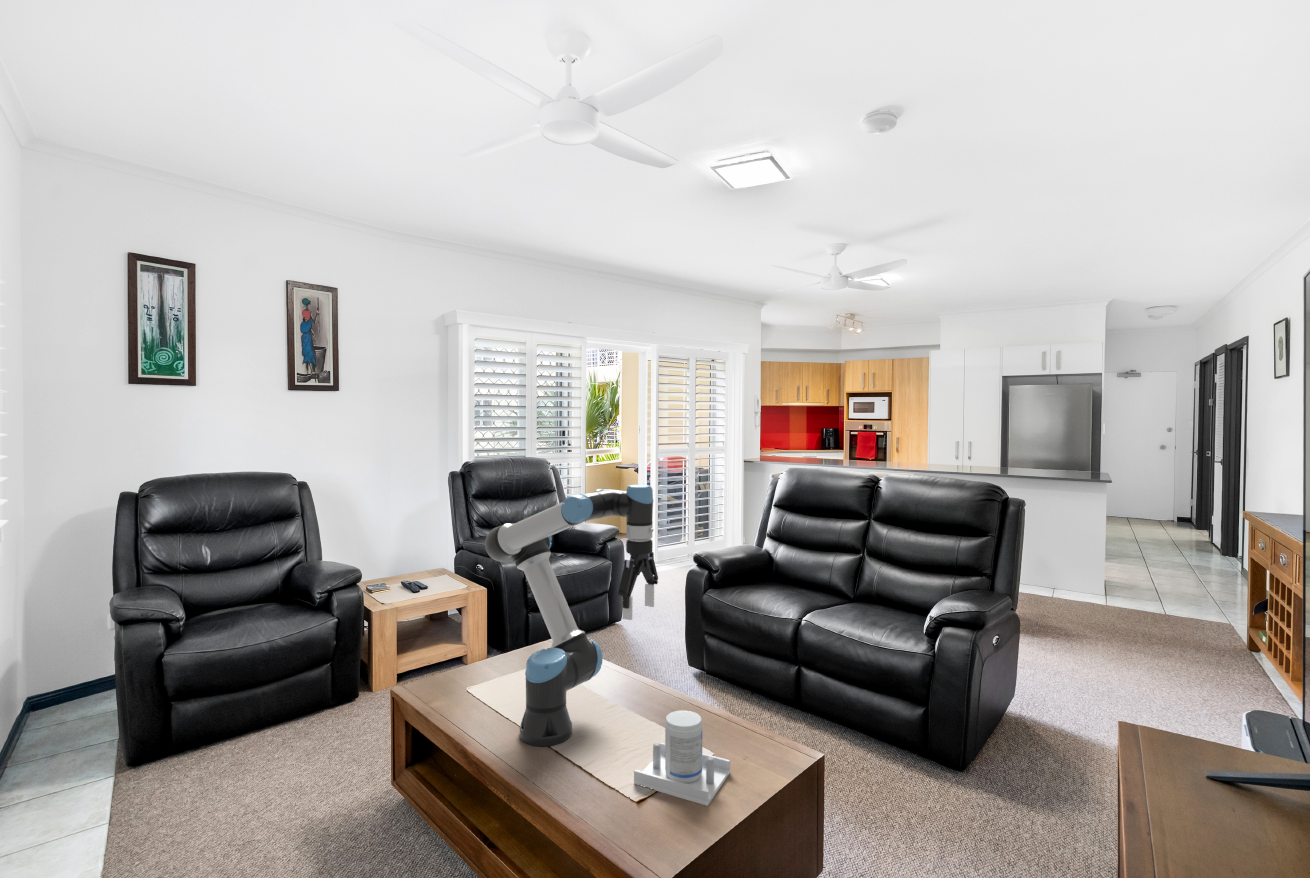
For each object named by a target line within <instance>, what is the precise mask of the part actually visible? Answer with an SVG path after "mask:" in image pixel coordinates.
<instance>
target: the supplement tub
mask: <svg viewBox="0 0 1310 878" xmlns="http://www.w3.org/2000/svg"><path fill="white" fill-rule="evenodd" d="M702 721H703V720H702V716H700V714H698V713H697V712H695V711H690V710H681V709H680V710H674V711H671V712H669V713H668V714H667V715H666V717H665V722H664V723H665V726H664V727H665V729H664V731H665V732H664V733H665V735H664V736H665V737H664V738H665V740H664V741H665V742H664V743H665V771H666V775H667V776H668V777H669V778H670V779H672V780H674V781H678V782H681V783H689V782H693V781H696V780H697V779H699V778H700V776H701V775H702V753H703V722H702Z"/></svg>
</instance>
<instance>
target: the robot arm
mask: <svg viewBox="0 0 1310 878" xmlns="http://www.w3.org/2000/svg"><path fill="white" fill-rule="evenodd" d="M653 491H654V490H653V488H652V486H651V485H650V484H629V485H627V486H626V490H619V489H611V488H597V489H596V490H595V491H594V492H588V493H577V494H573V495H569V496H567V497H566V498H565V499H564V500H563V501H562V502H560V503H558V504H557V503H556V504H555V505H553V506H551V507H548V508H546V509H544V510H542V511H540V512H538V513H535V514H532V515H531V516H528V517H526V518H524V519H522V520H520V521H517V522H515V523H514V522H513V523H504V524H503V525H499V526H496V527H494V528H492V529H491V530H490V531H489V532H488V533H487V534H486V535H487V536H486V537H485V539H484V548H485V551H486V553H487V555H488V556H489V557H490V558H491V559H492V560H494V561H496V562H500V563H508V562H514V563H515V566H516V568H517V569H518V570H521V571H523V573H524V575H525V577H526V580H527V583H528V585H529V587H530V589H531V592H532V594H533V597H534V599H535V601H536V604H537V606H538V608H539V609H538V610H539V611H540V614H541V616H542V619H543V620H544V624H545V625H546V628H547V630H548V633H549V635H550V637H551V640H552V643H551V646H550V647H547V648H546V649H545V648H541V649H538V650H536V651H535V652H534V653H531V654H530V655H529V656H528V658H527V661H526V665H525V667H526V668H525V673H524V675H525V711H524V713H523V715H522V716H523V717H522V719H521V722H520V725H519V738H520V740H521V741H522V742H524V743H525V744H527V745H530V746H535V747H536V746H537V747H550V746H555V745H558V744H561V743H563V742H566V741H567V740H568V739H569V738H570V737H571V736H570V735H572V734H573V722H572V720H571V716H570V714H569V711H568V708H567V691H569V690H571V689H573V688H575V687H577V686H579V685H582V684H583V683H585V682H588V681H590V680H592V678H593V677H595V676H597V674H599V672H600V671H601V668H602V665H603V652H602V649H601V646H600V645H599V643H598V642H597V641H594V639H593V638H588V636H587V634H586V631H584V630H581V629H579V627H578V626H577V622H576V621H575V618H574V616H573V613H572V611H571V609H570V607H569V605H568V602H567V599H566V596H565V595H564V593H563V590H562V588H561V584H560V583H559V581H558V578H557V576H556V574H555V571H554V569H553V567H552V564H551V562H550V557H551V554H552V552H551V550H550V549H551V547H552V541H553V537H552V536H553V535H556V534H558V533H560V532H562V531H565V530H568V529H569V528H572V527H575V526H577V525H581V524H583V523H585V522H588V521H591V520H597V519H601V518H606V517H612V516H613V517H614V516H615V517H622V518H625V519H626V526H625V527H626V531H625V532H626V539H627V540H626V542H625V543H626V545H625V546H626V547H625V548H626V549H625V550H626V551H625V552H626V553H627V554H629V556H630V558H629V559H624V561H623V570H622V574H621V579H620V583H619V588H618V592H617V595H618V596H621V597H622V620H628V621H632V620H633V595H632V593H633V591H634V588H635V584H636V581H637V578H638V576H640V575H641V573H642V576H643V577H644V580H645V582H646V583H644V607H648V608H654V607H655V585H658V584H659V581H658V580H659V575H658V571H657V568H656V564H655V558H654V557H655V556H654V555H655V553H654V552H653V532H654V528H653V523H654V522H653V511H654V494H653Z"/></svg>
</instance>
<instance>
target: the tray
mask: <svg viewBox="0 0 1310 878" xmlns="http://www.w3.org/2000/svg"><path fill="white" fill-rule="evenodd" d="M730 774H731V760H730V759H727V758H724V757H719V756H715V755H712V754H708V753H705V752H702V775H701V776H700V778H699V779H697V780H696V781H693V782H689V783H681V782H678V781H674V780H672V779H670V778H669V777H668V776H667V775H666V771H665V742H660V743H659V742H654V743H653V744H652V761H650V762H649V764H648V765H646V767H645V768H644V769H643V770H639V769H635V770H633V785H635V784H638V785H637V786H639V785H642V786H645V787H649V788H652V789H654V790H653V791H657V792H660V793H662V794H665V795H670V796H673V797H676V798H680V799H683V800H686V801H689V802H694V803H697V804H700V805H702V806H707V807H708V806H709V805H710V803H711V802H712V800H713V799H714V798H715V796H716V794H717V793H718V792H719V790H720V788H721V787H722V786H723V784H724V783H725V781H727V778H728V777H729V775H730ZM642 786H641V787H642ZM645 787H644V788H645ZM649 788H648V789H649ZM652 789H651V790H652Z"/></svg>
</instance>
